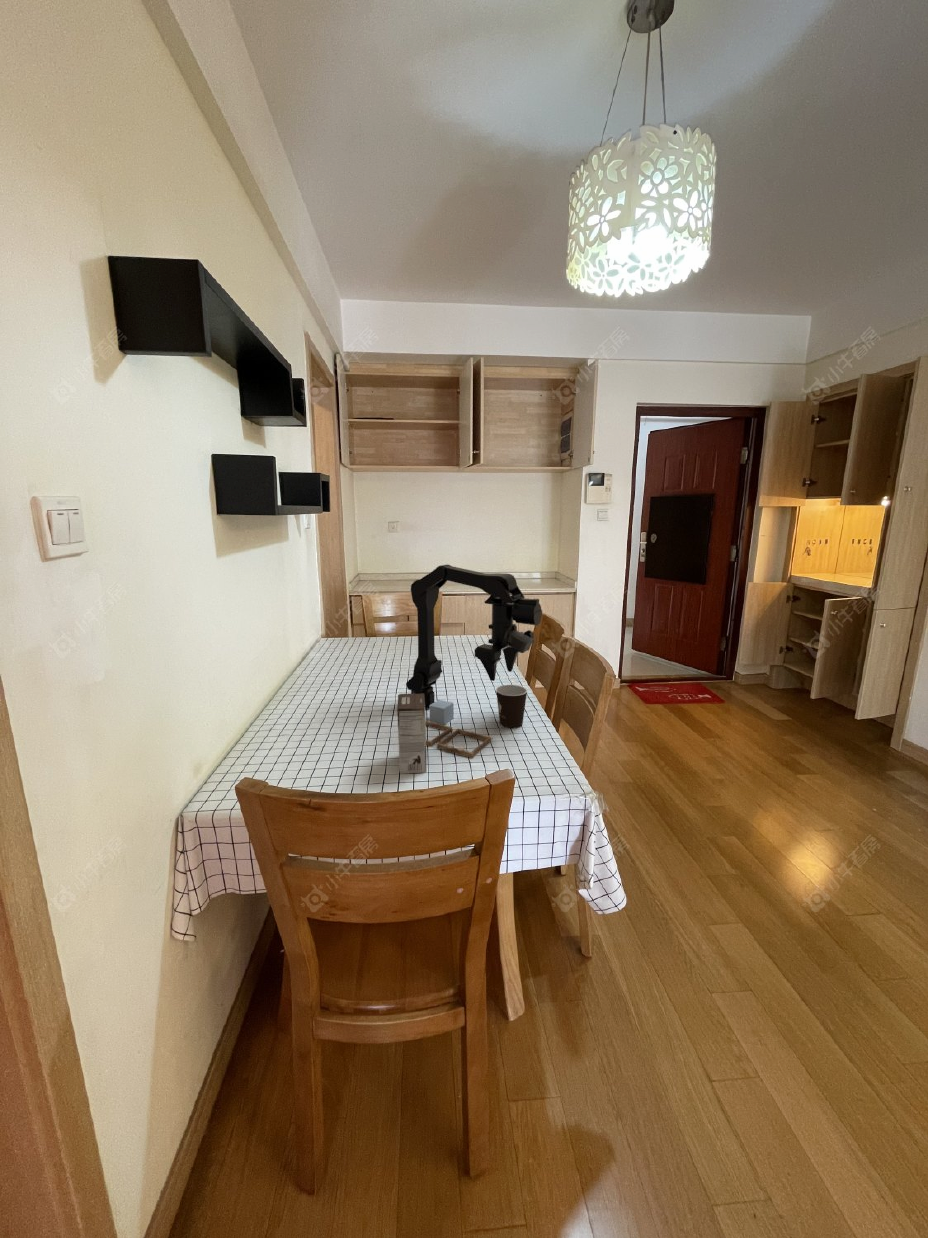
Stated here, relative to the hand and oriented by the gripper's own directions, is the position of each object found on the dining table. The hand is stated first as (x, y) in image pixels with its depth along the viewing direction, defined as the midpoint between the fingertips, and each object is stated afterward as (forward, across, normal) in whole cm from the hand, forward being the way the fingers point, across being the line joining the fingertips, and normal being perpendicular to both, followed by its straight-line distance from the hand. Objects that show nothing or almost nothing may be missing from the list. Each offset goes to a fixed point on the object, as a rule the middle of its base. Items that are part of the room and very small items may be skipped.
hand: (501, 675), depth 133 cm
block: (+14, -8, +15) cm, 22 cm away
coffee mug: (+14, +3, -2) cm, 15 cm away
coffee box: (+14, -31, +6) cm, 35 cm away
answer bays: (+14, -17, +7) cm, 23 cm away
